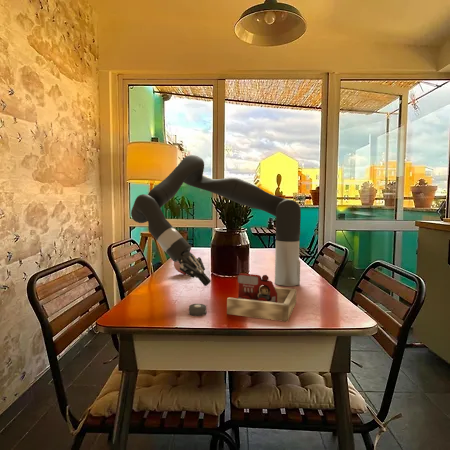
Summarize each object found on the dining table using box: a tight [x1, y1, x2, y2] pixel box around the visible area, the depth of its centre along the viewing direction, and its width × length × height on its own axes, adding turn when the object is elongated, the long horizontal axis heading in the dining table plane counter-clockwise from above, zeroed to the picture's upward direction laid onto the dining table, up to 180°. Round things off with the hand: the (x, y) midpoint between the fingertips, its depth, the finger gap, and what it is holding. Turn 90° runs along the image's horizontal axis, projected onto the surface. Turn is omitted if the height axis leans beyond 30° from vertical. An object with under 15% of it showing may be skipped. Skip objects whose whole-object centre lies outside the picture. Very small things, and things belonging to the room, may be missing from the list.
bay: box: [226, 286, 297, 322], centre depth 102 cm, size 18×18×4 cm
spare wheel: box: [188, 303, 207, 317], centre depth 97 cm, size 5×5×2 cm
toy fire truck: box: [236, 272, 278, 303], centre depth 103 cm, size 7×12×10 cm, turn 70°
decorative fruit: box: [173, 261, 187, 275], centre depth 147 cm, size 9×8×10 cm
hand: (208, 283), depth 108 cm, fingers closed
